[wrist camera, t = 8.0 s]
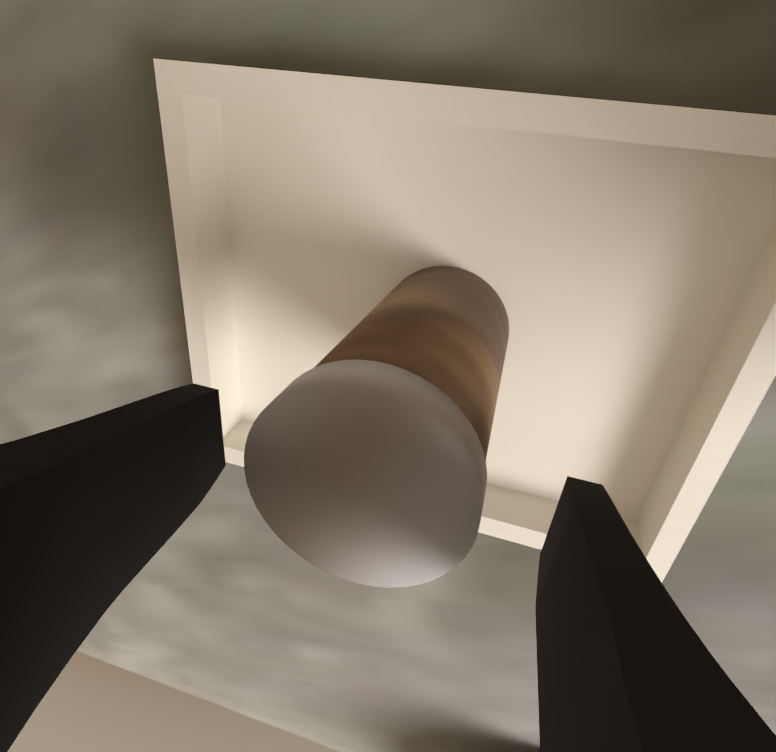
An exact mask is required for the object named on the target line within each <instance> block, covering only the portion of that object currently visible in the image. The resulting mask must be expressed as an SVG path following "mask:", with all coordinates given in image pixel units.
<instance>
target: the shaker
mask: <svg viewBox="0 0 776 752" xmlns="http://www.w3.org/2000/svg"><path fill="white" fill-rule="evenodd" d="M508 338H509V321H508V316H507V312H506V309H505V307H504V304H503V302H502V300H501V299H500V297H499V296H498V294H497V293H496V291H495V290H494V289H493V288H492V287H491V286H490V285H489V284H488V283H487V282H486V281H484V280H483V279H482V278H480V277H479V276H477V275H476V274H474V273H472V272H469V271H467V270H464V269H461V268H457V267H451V266H434V267H428V268H424V269H421V270H419V271H416V272H414V273H412V274H411V275H409V276H407V277H406V278H405V279H403V280H402V281H401V282H400V283H399V284H398V285H397V286H396V287H395V288H394V289H393V290H392V291H391V292H390V293H389V294H388V295H387V296H386V297H385V298H384V299H383V300H382V301H381V302H380V303H379V304H378V305H377V306H376V307H375V308H374V309H373V310H372V311H371V312H370V313H369V314H368V315H367V316H366V317H365V318H364V319H363V320H362V321H361V322H360V323H359V324H358V325H357V326H356V327H355V328H354V329H353V330H351V331H350V332H349V333H348V334H347V335H346V336H345V337H344V338H343V339H342V340H341V341H340V342H339V343H338V344H337V345H336V346H335V347H334V348H333V349H332V350H331V351H330V352H329V353H328V354H327V355H326V356H325V357H324V358H323V359H322V360H321V361H320V362H319V363H318V364H317V365H316V366H315V367H314V368H313V369H311V370H309V371H307V372H305V373H303V374H302V375H300V376H299V377H298V378H296V379H295V380H294V381H293V382H292V383H290V384H289V385H288V386H287V387H286V388H285V389H284V390H283V391H282V392H281V393H280V394H279V395H278V396H277V397H276V398H275V399H274V400H273V401H272V402H271V403H270V404H269V405H268V406H267V407H266V408H265V409H264V410H263V411H262V412H261V413H260V414H259V415H258V417H257V418H256V420H255V421H254V423H253V425H252V427H251V429H250V431H249V433H248V436H247V440H246V444H245V451H244V470H245V476H246V481H247V485H248V488H249V491H250V494H251V496H252V498H253V500H254V503H255V505H256V507H257V509H258V510H259V512H260V514H261V515H262V517H263V518H264V520H265V521H266V522H267V524H268V525H269V526H270V528H271V529H272V530H273V531H274V533H275V534H276V535H277V536H278V537H279V538H280V539H281V540H282V541H283V542H284V543H285V544H286V545H287V546H288V547H290V548H291V549H292V550H293V551H294V552H296V553H297V554H298V555H300V556H301V557H302V558H304V559H305V560H307V561H308V562H310V563H311V564H313V565H315V566H316V567H318V568H320V569H322V570H324V571H326V572H328V573H330V574H333V575H335V576H337V577H340V578H342V579H345V580H349V581H352V582H355V583H359V584H364V585H368V586H376V587H393V588H397V587H409V586H414V585H419V584H423V583H426V582H429V581H432V580H435V579H437V578H439V577H441V576H443V575H444V574H446V573H448V572H449V571H450V570H452V569H453V568H455V567H456V566H457V565H458V564H459V563H460V562H461V561H462V560H463V559H464V558H465V557H466V555H467V554H468V552H469V551H470V549H471V548H472V546H473V544H474V541H475V539H476V537H477V534H478V530H479V526H480V521H481V515H482V509H483V503H484V497H485V492H486V483H487V468H486V457H487V451H488V446H489V440H490V435H491V430H492V424H493V419H494V414H495V408H496V403H497V397H498V392H499V387H500V381H501V376H502V371H503V365H504V360H505V355H506V349H507V344H508Z"/></svg>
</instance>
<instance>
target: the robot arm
mask: <svg viewBox="0 0 776 752" xmlns="http://www.w3.org/2000/svg"><path fill="white" fill-rule="evenodd" d="M225 465H226V464H225V453H224V443H223V432H222V421H221V411H220V400H219V390H218V389H214V388H210V387H206V386H202V385H198V384H190V385H186V386H182V387H178V388H175V389H172V390H168V391H165V392H162V393H159V394H156V395H153V396H150V397H147V398H144V399H141V400H138V401H135V402H133V403H130V404H127V405H124V406H121V407H118V408H115V409H112V410H109V411H106V412H103V413H100V414H97V415H95V416H92V417H89V418H86V419H83V420H80V421H76V422H73V423H70V424H67V425H64V426H60V427H57V428H54V429H51V430H48V431H44V432H41V433H38V434H35V435H32V436H28V437H25V438H22V439H18V440H15V441H11V442H8V443H4V444H0V752H7V751H8V750H9V748H10V747H11V745H12V743H13V742H14V740H15V739H16V737H17V736H18V734H19V733H20V731H21V730H22V728H23V727H24V725H25V724H26V722H27V720H28V719H29V718H30V716H31V715H32V713H33V711H34V710H35V708H36V707H37V705H38V704H39V703H40V701H41V700H42V698H43V697H44V695H45V694H46V693H47V691H48V690H49V688H50V687H51V685H52V684H53V683H54V681H55V680H56V678H57V677H58V676H59V674H60V673H61V671H62V670H63V668H64V667H65V665H66V664H67V663H68V661H69V660H70V658H71V657H72V655H73V654H74V653H75V652H76V650H77V649H78V648H79V646H80V645H81V643H82V642H83V641H84V639H85V638H86V637H87V635H88V634H89V633H90V631H91V630H92V629H93V627H94V626H95V625H96V623H97V622H98V621H99V619H100V618H101V617H102V615H103V614H104V612H105V611H106V610H107V609H108V607H109V606H110V605H111V604H112V603H113V601H114V600H115V599H116V598H117V597H118V595H119V594H120V593H121V592H122V591H123V589H124V588H125V587H126V586H127V585H128V584H129V583H130V582H131V580H132V579H133V578H134V577H135V576H136V575H137V574H138V573H139V572H140V570H141V569H142V568H143V567H144V566H145V565H146V564H147V563H148V561H149V560H150V559H151V558H152V557H153V556H154V555H155V554H156V553H157V551H158V550H159V549H160V548H161V547H162V546H163V545H164V544H165V543H166V541H167V540H168V539H169V538H170V537H171V536H172V535H173V534H174V533H175V531H176V530H177V529H178V528H179V527H180V526H181V525H182V523H183V522H184V521H185V520H186V519H187V518H188V517H189V515H190V514H191V513H192V512H193V511H194V510H195V509H196V507H197V506H198V505H199V504H200V502H201V501H202V500H203V498H204V497H205V495H206V494H207V493H208V491H209V490H210V488H211V487H212V485H213V484H214V482H215V481H216V479H217V478H218V476H219V475H220V473H221V471H222V470H223V468H224V467H225ZM536 636H537V667H538V697H539V726H540V752H776V735H775V734H774V733H773V732H772V731H771V729H770V728H769V727H768V726H767V724H766V723H765V722H764V721H763V720H762V718H761V717H760V716H759V715H758V713H757V712H756V711H755V710H754V708H753V707H752V706H751V705H750V703H749V702H748V701H747V700H746V698H745V697H744V696H743V695H742V694H741V692H740V691H739V690H738V689H737V687H736V686H735V685H734V684H733V682H732V681H731V680H730V679H729V677H728V676H727V675H726V673H725V672H724V671H723V669H722V668H721V667H720V666H719V664H718V663H717V662H716V660H715V659H714V658H713V656H712V655H711V654H710V652H709V651H708V650H707V648H706V647H705V645H704V644H703V643H702V641H701V640H700V638H699V637H698V636H697V634H696V633H695V631H694V630H693V629H692V627H691V626H690V624H689V623H688V622H687V620H686V619H685V617H684V616H683V614H682V613H681V611H680V610H679V608H678V607H677V605H676V604H675V602H674V601H673V600H672V598H671V597H670V595H669V593H668V592H667V590H666V589H665V587H664V586H663V584H662V582H661V581H660V579H659V578H658V576H657V575H656V573H655V572H654V570H653V568H652V567H651V565H650V564H649V562H648V561H647V559H646V557H645V556H644V554H643V552H642V551H641V549H640V547H639V546H638V544H637V542H636V541H635V539H634V537H633V536H632V534H631V532H630V531H629V529H628V527H627V526H626V524H625V522H624V520H623V519H622V517H621V515H620V513H619V512H618V510H617V508H616V506H615V505H614V503H613V501H612V499H611V498H610V496H609V494H608V493H607V491H606V489H605V488H604V486H603V485H601V484H597V483H593V482H589V481H585V480H581V479H577V478H573V477H569V476H567V479H566V482H565V485H564V487H563V490H562V493H561V496H560V499H559V502H558V505H557V507H556V510H555V513H554V516H553V519H552V522H551V525H550V527H549V530H548V533H547V536H546V539H545V542H544V545H543V547H542V550H541V553H540V561H539V572H538V583H537V596H536Z"/></svg>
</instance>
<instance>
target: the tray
mask: <svg viewBox="0 0 776 752" xmlns="http://www.w3.org/2000/svg"><path fill="white" fill-rule="evenodd" d="M153 61H154V69H155V78H156V86H157V94H158V102H159V110H160V118H161V127H162V135H163V143H164V151H165V159H166V167H167V176H168V184H169V192H170V200H171V208H172V216H173V225H174V233H175V241H176V249H177V257H178V265H179V273H180V282H181V290H182V298H183V306H184V314H185V322H186V331H187V339H188V347H189V355H190V363H191V371H192V380H193V384H198V385H202V386H206V387H210V388H214V389H218V390H219V400H220V411H221V421H222V432H223V443H224V453H225V462H228V463H231V464H235V465H239V466H242V467H244V451H245V444H246V440H247V436H248V433H249V431H250V429H251V427H252V425H253V423H254V421H255V420H256V418H257V417H258V415H259V414H260V413H261V412H262V411H263V410H264V409H265V408H266V407H267V406H268V405H269V404H270V403H271V402H272V401H273V400H274V399H275V398H276V397H277V396H278V395H279V394H280V393H281V392H282V391H283V390H284V389H285V388H286V387H287V386H288V385H289V384H290V383H292V382H293V381H294V380H295V379H296V378H298V377H299V376H300V375H302V374H303V373H305V372H307V371H309V370H311V369H313V368H314V367H315V366H316V365H317V364H318V363H319V362H320V361H321V360H322V359H323V358H324V357H325V356H326V355H327V354H328V353H329V352H330V351H331V350H332V349H333V348H334V347H335V346H336V345H337V344H338V343H339V342H340V341H341V340H342V339H343V338H344V337H345V336H346V335H347V334H348V333H349V332H350V331H351V330H353V329H354V328H355V327H356V326H357V325H358V324H359V323H360V322H361V321H362V320H363V319H364V318H365V317H366V316H367V315H368V314H369V313H370V312H371V311H372V310H373V309H374V308H375V307H376V306H377V305H378V304H379V303H380V302H381V301H382V300H383V299H384V298H385V297H386V296H387V295H388V294H389V293H390V292H391V291H392V290H393V289H394V288H395V287H396V286H397V285H398V284H399V283H400V282H401V281H402V280H403V279H405V278H406V277H407V276H409V275H411V274H412V273H414V272H416V271H419V270H421V269H424V268H428V267H434V266H451V267H457V268H461V269H464V270H467V271H469V272H472V273H474V274H476V275H477V276H479V277H480V278H482V279H483V280H484V281H486V282H487V283H488V284H489V285H490V286H491V287H492V288H493V289H494V290H495V291H496V293H497V294H498V296H499V297H500V299H501V300H502V302H503V304H504V307H505V309H506V312H507V316H508V321H509V338H508V344H507V349H506V355H505V360H504V365H503V371H502V376H501V381H500V387H499V392H498V397H497V403H496V408H495V414H494V419H493V424H492V430H491V435H490V440H489V446H488V451H487V457H486V468H487V483H486V492H485V497H484V503H483V509H482V515H481V521H480V526H479V530H478V532H479V533H483V534H487V535H490V536H494V537H497V538H501V539H505V540H508V541H512V542H515V543H519V544H522V545H526V546H530V547H533V548H537V549H540V550H542V547H543V545H544V542H545V539H546V536H547V533H548V530H549V527H550V525H551V522H552V519H553V516H554V513H555V510H556V507H557V505H558V502H559V499H560V496H561V493H562V490H563V487H564V485H565V482H566V479H567V476H569V477H573V478H577V479H581V480H585V481H589V482H593V483H597V484H601V485H603V486H604V488H605V489H606V491H607V493H608V494H609V496H610V498H611V499H612V501H613V503H614V505H615V506H616V508H617V510H618V512H619V513H620V515H621V517H622V519H623V520H624V522H625V524H626V526H627V527H628V529H629V531H630V532H631V534H632V536H633V537H634V539H635V541H636V542H637V544H638V546H639V547H640V549H641V551H642V552H643V554H644V556H645V557H646V559H647V561H648V562H649V564H650V565H651V567H652V568H653V570H654V572H655V573H656V575H657V576H658V578H659V579H660V581H661V582H663V580H664V578H665V576H666V574H667V572H668V571H669V569H670V567H671V565H672V563H673V561H674V560H675V558H676V556H677V554H678V552H679V551H680V549H681V547H682V545H683V543H684V541H685V540H686V538H687V536H688V534H689V532H690V530H691V529H692V527H693V525H694V523H695V521H696V520H697V518H698V516H699V514H700V512H701V510H702V509H703V507H704V505H705V503H706V501H707V499H708V498H709V496H710V494H711V492H712V490H713V489H714V487H715V485H716V483H717V481H718V479H719V478H720V476H721V474H722V472H723V470H724V468H725V467H726V465H727V463H728V461H729V459H730V458H731V456H732V454H733V452H734V450H735V448H736V447H737V445H738V443H739V441H740V439H741V437H742V436H743V434H744V432H745V430H746V428H747V427H748V425H749V423H750V421H751V419H752V417H753V416H754V414H755V412H756V410H757V408H758V406H759V405H760V403H761V401H762V399H763V397H764V396H765V394H766V392H767V390H768V388H769V386H770V385H771V383H772V381H773V379H774V377H775V375H776V116H775V115H764V114H753V113H743V112H732V111H721V110H710V109H699V108H688V107H677V106H666V105H655V104H644V103H633V102H623V101H612V100H601V99H590V98H579V97H568V96H557V95H546V94H535V93H524V92H513V91H503V90H492V89H481V88H470V87H459V86H448V85H437V84H426V83H415V82H404V81H393V80H383V79H372V78H361V77H350V76H339V75H328V74H317V73H306V72H295V71H284V70H273V69H262V68H252V67H241V66H230V65H219V64H208V63H197V62H186V61H175V60H164V59H153Z"/></svg>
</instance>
